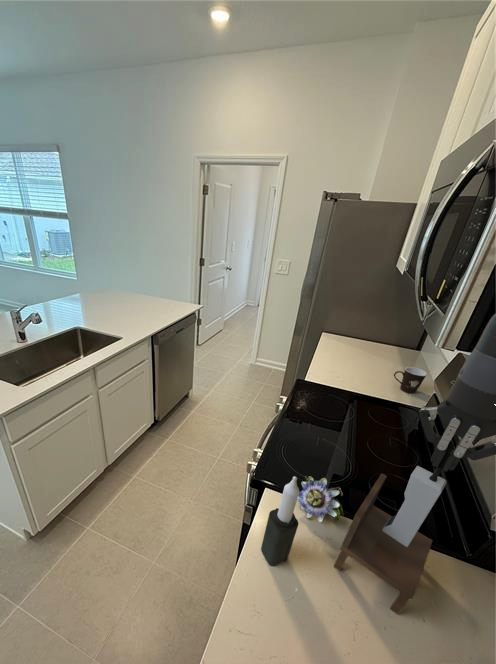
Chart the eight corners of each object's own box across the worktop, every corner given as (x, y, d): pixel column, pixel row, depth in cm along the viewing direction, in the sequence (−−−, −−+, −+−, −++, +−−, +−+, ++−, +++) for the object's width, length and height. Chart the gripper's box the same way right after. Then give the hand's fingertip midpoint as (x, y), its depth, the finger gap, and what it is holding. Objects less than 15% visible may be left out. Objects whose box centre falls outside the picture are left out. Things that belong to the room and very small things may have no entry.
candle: (270, 567, 69) (291, 490, 56) (259, 547, 73) (276, 470, 60) (289, 560, 70) (314, 483, 58) (277, 540, 74) (298, 464, 62)
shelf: (358, 522, 80) (381, 473, 71) (418, 561, 72) (453, 510, 63) (332, 566, 70) (355, 514, 61) (398, 616, 61) (436, 565, 53)
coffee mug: (420, 390, 145) (428, 371, 140) (415, 397, 139) (424, 377, 134) (393, 381, 151) (400, 363, 146) (388, 387, 145) (395, 368, 140)
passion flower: (304, 529, 83) (284, 498, 80) (315, 497, 91) (297, 468, 87) (345, 535, 75) (325, 501, 72) (354, 499, 83) (335, 467, 79)
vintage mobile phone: (388, 521, 67) (435, 431, 55) (412, 537, 64) (469, 445, 52) (381, 531, 65) (429, 439, 53) (406, 548, 62) (464, 455, 50)
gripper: (550, 390, 44) (489, 476, 53) (442, 359, 52) (404, 438, 61) (552, 410, 40) (485, 501, 48) (432, 373, 47) (393, 457, 56)
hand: (440, 466), depth 54 cm, fingers closed on vintage mobile phone, 1 cm apart
